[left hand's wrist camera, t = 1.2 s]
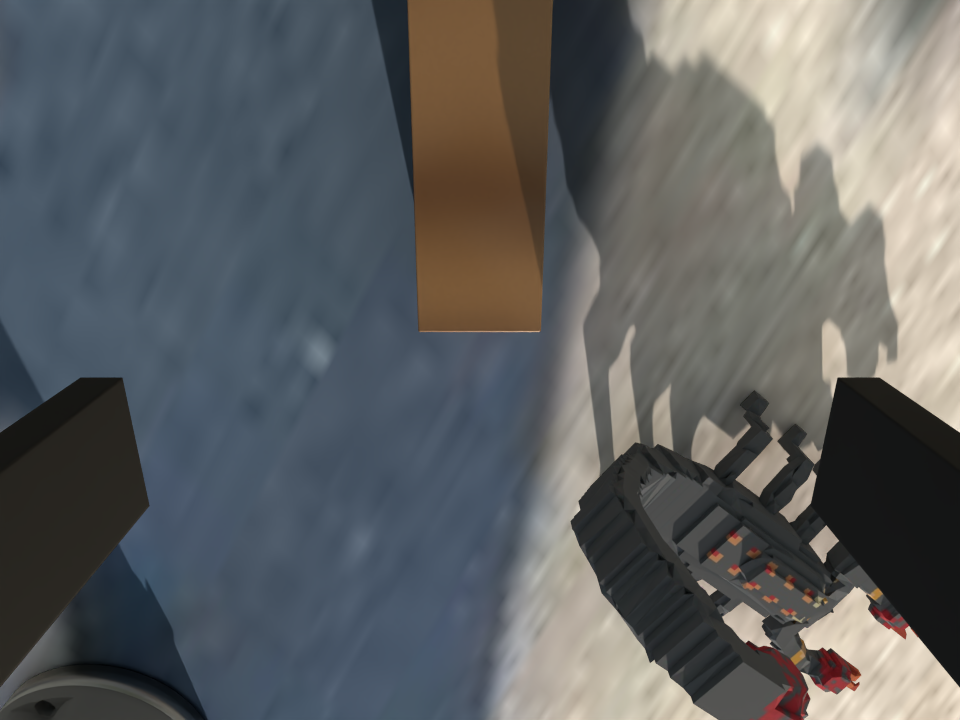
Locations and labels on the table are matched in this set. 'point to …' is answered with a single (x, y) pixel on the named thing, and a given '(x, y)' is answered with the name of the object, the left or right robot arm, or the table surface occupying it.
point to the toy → (722, 573)
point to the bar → (479, 161)
